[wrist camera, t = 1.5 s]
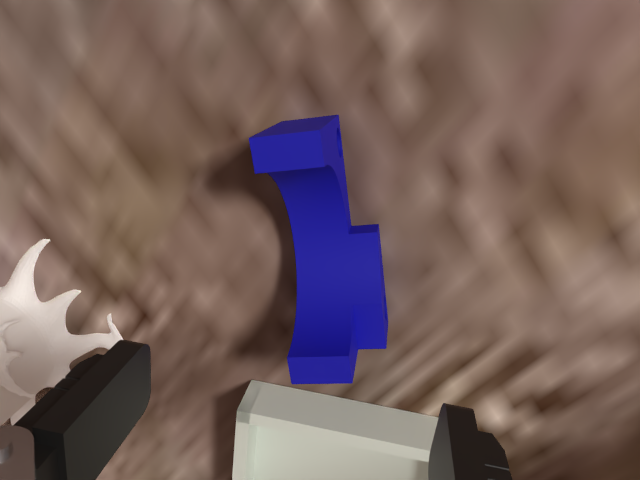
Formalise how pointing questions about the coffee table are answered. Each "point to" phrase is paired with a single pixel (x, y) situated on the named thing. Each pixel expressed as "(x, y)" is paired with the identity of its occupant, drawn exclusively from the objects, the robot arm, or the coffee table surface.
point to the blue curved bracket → (325, 251)
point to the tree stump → (37, 339)
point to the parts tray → (327, 438)
